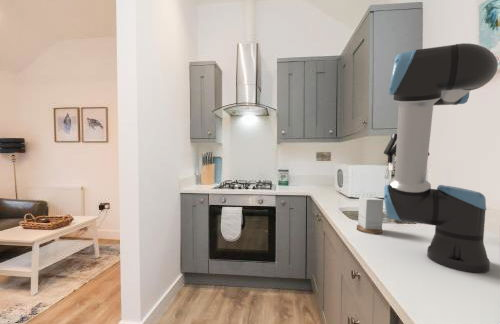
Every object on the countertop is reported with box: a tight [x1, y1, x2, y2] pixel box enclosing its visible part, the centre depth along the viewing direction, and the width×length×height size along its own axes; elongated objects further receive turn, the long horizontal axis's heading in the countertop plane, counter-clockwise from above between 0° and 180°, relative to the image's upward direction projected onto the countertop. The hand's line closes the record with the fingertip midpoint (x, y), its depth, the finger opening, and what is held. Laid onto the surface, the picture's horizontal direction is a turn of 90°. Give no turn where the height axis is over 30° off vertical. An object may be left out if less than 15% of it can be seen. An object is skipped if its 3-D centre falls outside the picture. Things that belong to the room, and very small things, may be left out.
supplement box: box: [357, 196, 384, 230], centre depth 110 cm, size 7×7×13 cm
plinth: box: [356, 224, 383, 235], centre depth 110 cm, size 10×10×2 cm
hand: (405, 170), depth 115 cm, fingers open, 13 cm apart
